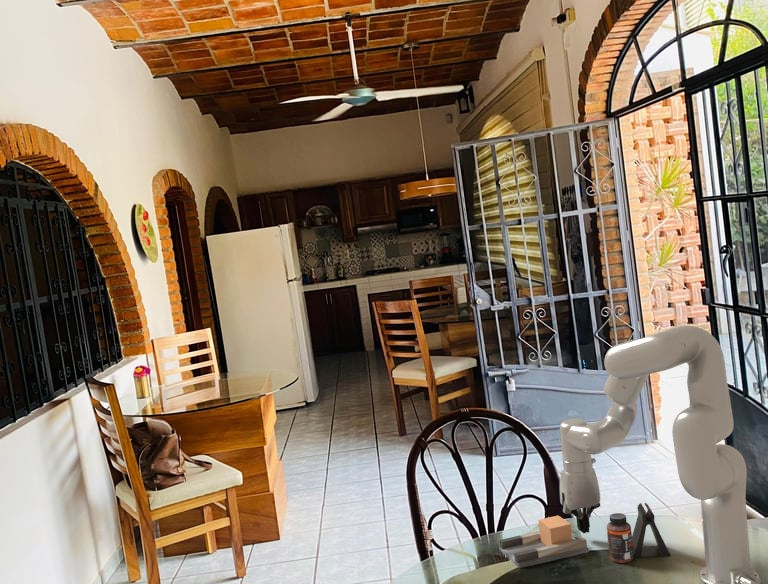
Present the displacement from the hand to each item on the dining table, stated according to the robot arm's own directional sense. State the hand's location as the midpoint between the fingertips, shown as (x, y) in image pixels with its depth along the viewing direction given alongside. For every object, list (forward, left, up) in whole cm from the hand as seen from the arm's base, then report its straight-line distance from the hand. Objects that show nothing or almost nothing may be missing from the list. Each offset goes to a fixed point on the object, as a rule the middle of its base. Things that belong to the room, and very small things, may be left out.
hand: (583, 531), depth 201 cm
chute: (0, +12, -3) cm, 13 cm away
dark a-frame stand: (-14, -11, -3) cm, 18 cm away
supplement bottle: (-14, -3, -3) cm, 15 cm away
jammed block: (0, +8, -2) cm, 9 cm away
